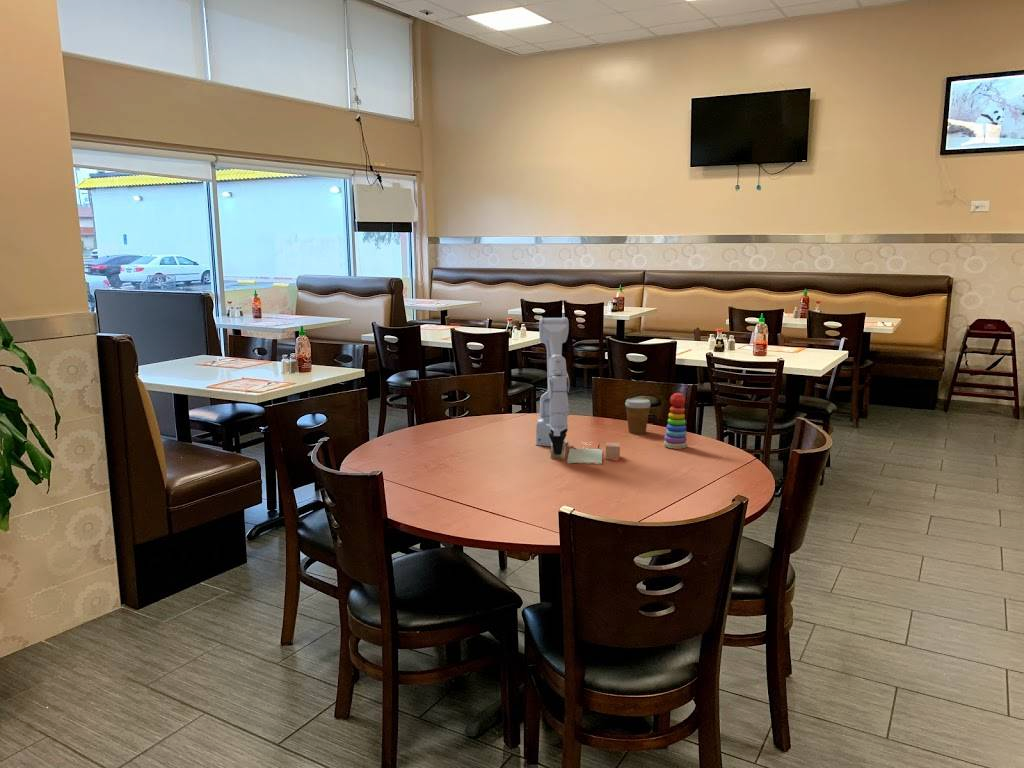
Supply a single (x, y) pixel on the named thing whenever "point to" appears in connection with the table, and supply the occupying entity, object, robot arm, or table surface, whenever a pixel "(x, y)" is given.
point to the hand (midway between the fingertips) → (558, 452)
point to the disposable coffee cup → (637, 414)
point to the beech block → (561, 452)
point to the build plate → (585, 456)
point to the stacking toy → (676, 424)
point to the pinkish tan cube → (612, 450)
